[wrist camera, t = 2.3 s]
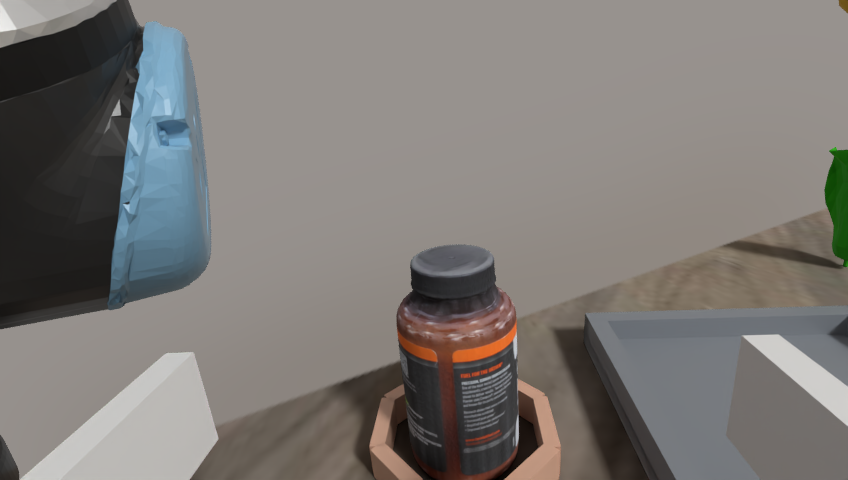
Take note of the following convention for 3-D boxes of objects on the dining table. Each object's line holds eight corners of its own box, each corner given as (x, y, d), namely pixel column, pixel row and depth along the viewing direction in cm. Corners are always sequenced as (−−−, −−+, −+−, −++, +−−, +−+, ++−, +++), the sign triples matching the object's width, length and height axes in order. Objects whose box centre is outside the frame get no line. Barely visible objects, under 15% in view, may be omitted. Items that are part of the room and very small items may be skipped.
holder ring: (361, 526, 20) (356, 497, 19) (392, 390, 29) (389, 367, 29) (574, 531, 19) (575, 500, 19) (538, 388, 28) (538, 364, 28)
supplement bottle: (538, 436, 24) (540, 247, 21) (481, 516, 20) (471, 297, 16) (452, 396, 28) (440, 230, 24) (388, 456, 24) (363, 267, 20)
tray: (688, 562, 18) (696, 516, 17) (583, 342, 33) (585, 313, 32) (1213, 576, 16) (1251, 525, 15) (845, 336, 31) (854, 305, 30)
